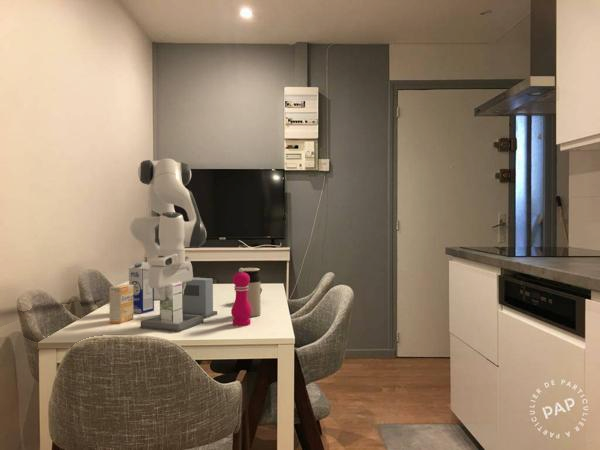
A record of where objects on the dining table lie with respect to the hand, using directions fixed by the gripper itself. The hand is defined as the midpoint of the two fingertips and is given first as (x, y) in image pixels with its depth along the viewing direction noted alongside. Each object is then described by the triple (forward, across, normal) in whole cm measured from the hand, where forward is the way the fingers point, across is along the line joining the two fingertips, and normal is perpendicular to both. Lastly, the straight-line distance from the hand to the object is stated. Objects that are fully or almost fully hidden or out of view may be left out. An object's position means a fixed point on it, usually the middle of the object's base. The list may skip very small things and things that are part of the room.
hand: (172, 297), depth 154 cm
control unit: (+10, -17, -4) cm, 20 cm away
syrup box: (+9, +1, 0) cm, 9 cm away
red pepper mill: (+10, -10, +22) cm, 26 cm away
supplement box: (+10, +1, -22) cm, 24 cm away
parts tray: (+10, 0, 0) cm, 10 cm away
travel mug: (+10, -24, +18) cm, 32 cm away
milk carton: (+10, -15, -27) cm, 32 cm away
